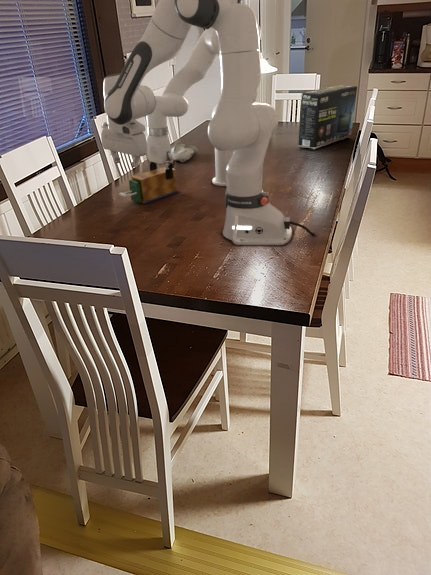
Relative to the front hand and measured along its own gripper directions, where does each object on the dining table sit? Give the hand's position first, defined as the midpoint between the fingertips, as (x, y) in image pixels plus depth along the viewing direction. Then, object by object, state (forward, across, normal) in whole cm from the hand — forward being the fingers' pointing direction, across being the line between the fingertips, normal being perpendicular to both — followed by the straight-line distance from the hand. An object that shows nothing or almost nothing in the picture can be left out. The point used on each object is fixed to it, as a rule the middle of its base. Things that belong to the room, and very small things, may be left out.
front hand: (126, 164), depth 165 cm
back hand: (+9, 0, +18) cm, 20 cm away
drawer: (+15, -1, +9) cm, 18 cm away
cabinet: (+16, 0, +14) cm, 21 cm away
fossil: (+17, -30, +60) cm, 69 cm away
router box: (+16, +19, +123) cm, 125 cm away
